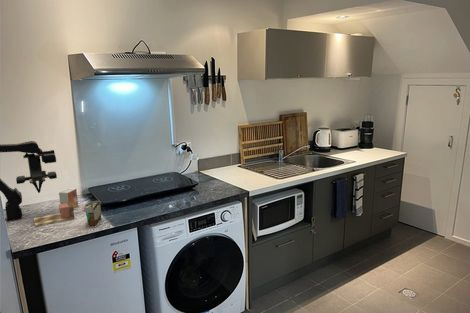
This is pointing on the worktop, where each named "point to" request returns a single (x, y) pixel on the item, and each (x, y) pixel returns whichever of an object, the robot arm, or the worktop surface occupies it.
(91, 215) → the food container
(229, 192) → the worktop surface
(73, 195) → the small box
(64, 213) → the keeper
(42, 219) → the rail
